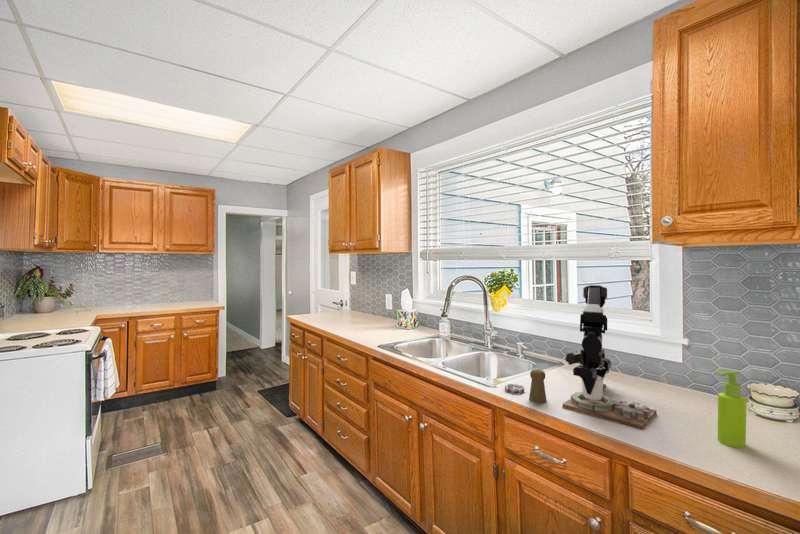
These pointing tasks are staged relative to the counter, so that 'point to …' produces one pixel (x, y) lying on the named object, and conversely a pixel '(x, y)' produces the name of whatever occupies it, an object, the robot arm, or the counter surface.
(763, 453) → the counter surface
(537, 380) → the brown pepper mill
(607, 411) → the gear board
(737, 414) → the soap dispenser
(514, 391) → the gear
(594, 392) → the white cylinder
